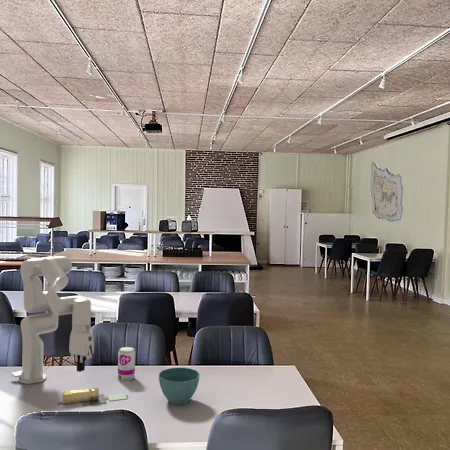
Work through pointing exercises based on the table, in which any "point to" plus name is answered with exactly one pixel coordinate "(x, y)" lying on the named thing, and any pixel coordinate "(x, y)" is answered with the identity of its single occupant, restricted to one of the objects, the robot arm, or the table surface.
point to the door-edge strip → (81, 401)
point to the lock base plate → (99, 401)
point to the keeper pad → (117, 397)
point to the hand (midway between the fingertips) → (80, 370)
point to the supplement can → (126, 363)
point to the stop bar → (80, 395)
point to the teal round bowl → (178, 384)
